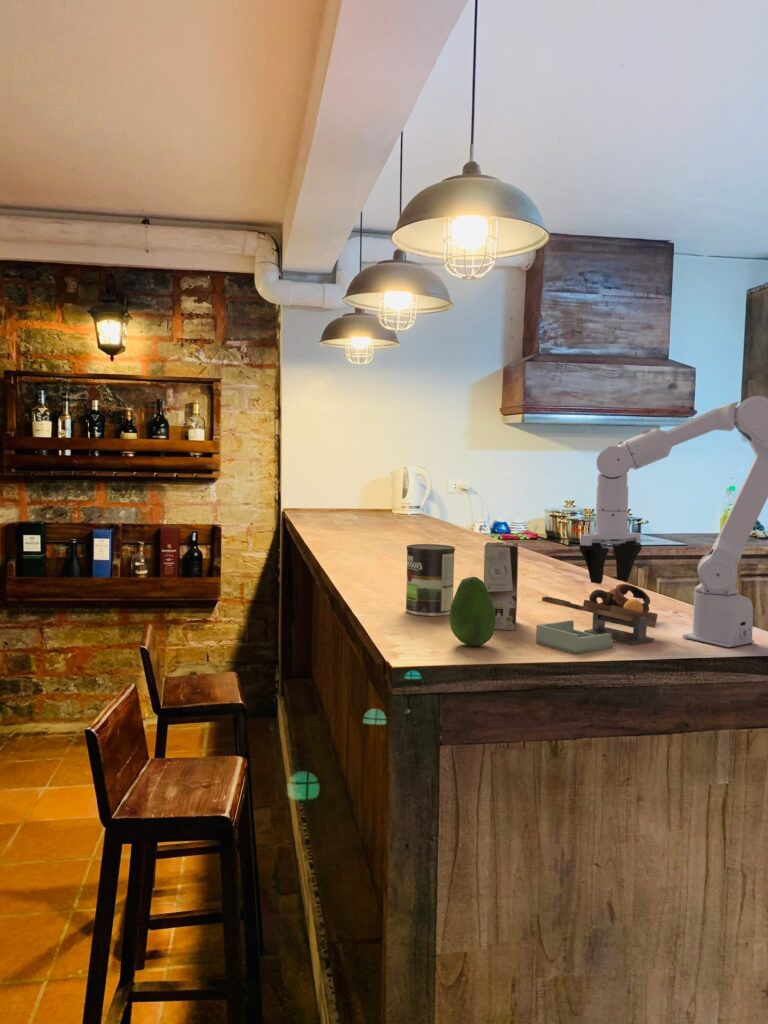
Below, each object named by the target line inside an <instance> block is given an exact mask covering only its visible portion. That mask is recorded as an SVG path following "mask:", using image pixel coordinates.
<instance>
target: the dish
mask: <svg viewBox="0 0 768 1024" xmlns="http://www.w3.org/2000/svg"><path fill="white" fill-rule="evenodd" d="M574 624H575V622H574V620H566V621H565V620H563V621H557V622H549V623H542V624H541V623H540V624H536V630H535V631H536V632H535V633H536V636H535V643H536V644H539V645H543V646H546V647H550V648H552V649H553V648H554V649H556V650H559V651H563V652H567V653H570V654H574V655H578V654H582V653H583V654H584V653H589V652H596V651H603V650H607V649H612V648H614V641H613V639H611V634H610V633H606V634H599V635H594V634H590V633H586V632H584V631H581V630H578V629H574Z"/></svg>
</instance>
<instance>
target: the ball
mask: <svg viewBox="0 0 768 1024" xmlns="http://www.w3.org/2000/svg"><path fill="white" fill-rule="evenodd" d="M641 603H642V602H641V601H639V599H636V598H635V599H634V598H633V599H629V600H628V601H627V602H626V603H625V604H624V608H625V609H629V610H633V611H636V612H640V613H643V605H642V604H641Z"/></svg>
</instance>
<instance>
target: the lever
mask: <svg viewBox="0 0 768 1024" xmlns="http://www.w3.org/2000/svg"><path fill="white" fill-rule="evenodd" d="M541 602H544V603H548V604H550V605H551V604H553V605H557V606H560V607H561V606H562V607H566V608H570V609H574V610H578V611H583V612H588V613H590V614H593V613H595V614H598V615H600V620H602V621H605V622H607V623H612V624H617V625H622V626H625V627H630V628H633V625H634V618H638V617H643V618H647V624H646V627H650V628H654V629H655V628H656V624H657V619H658V615H659V614H658V613H655V612H650V611H648V612H646V611H643V613H640V612H636V611H633V610H629V609H625V608H621V607H618V606H614V605H611V606H607V605H603V604H600V603H601V602H598V603H596V602H592V601H590V600H588V599H584V601H583V603H582V605H580V604H576V603H571V601H568V600H565V599H560V598H556V597H555V598H554V597H551V596H542V597H541Z"/></svg>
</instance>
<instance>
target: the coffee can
mask: <svg viewBox="0 0 768 1024" xmlns="http://www.w3.org/2000/svg"><path fill="white" fill-rule="evenodd" d="M455 551H456V547H455V546H453V545H449V544H438V543H437V544H434V543H419V544H418V543H416V544H415V543H414V544H409V545H406V593H405V594H406V598H405V612H406V613H407V612H408V613H407V614H410V613H411V614H410V615H413V614H415V616H420V615H422V617H443V616H450V609H451V604H452V602H453V599H454V579H455V575H454V573H455Z"/></svg>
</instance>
